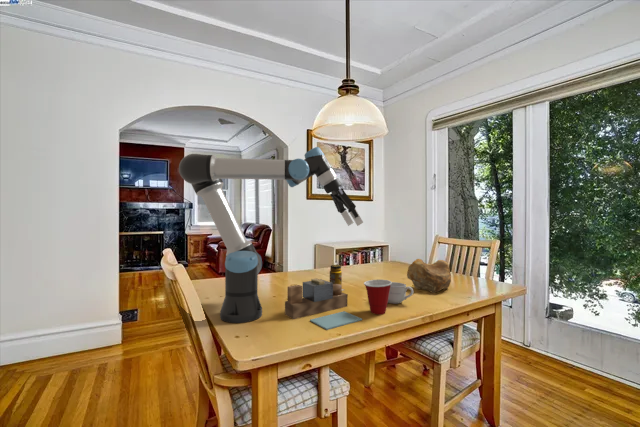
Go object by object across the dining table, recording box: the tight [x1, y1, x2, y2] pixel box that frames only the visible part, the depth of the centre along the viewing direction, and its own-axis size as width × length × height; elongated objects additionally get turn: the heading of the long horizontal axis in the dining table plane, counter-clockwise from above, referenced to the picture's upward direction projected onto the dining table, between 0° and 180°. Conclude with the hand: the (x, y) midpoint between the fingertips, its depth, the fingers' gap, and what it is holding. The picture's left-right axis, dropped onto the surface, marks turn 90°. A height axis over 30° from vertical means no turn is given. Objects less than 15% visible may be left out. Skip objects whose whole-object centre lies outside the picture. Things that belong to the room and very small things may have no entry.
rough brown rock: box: [406, 258, 452, 294], centre depth 155 cm, size 23×17×15 cm
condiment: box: [329, 264, 345, 292], centre depth 154 cm, size 7×8×12 cm
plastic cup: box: [363, 279, 393, 315], centre depth 120 cm, size 11×11×12 cm
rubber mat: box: [309, 311, 363, 331], centre depth 111 cm, size 16×10×1 cm, turn 126°
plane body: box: [284, 284, 349, 320], centre depth 122 cm, size 26×6×11 cm, turn 126°
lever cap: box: [302, 277, 333, 302], centre depth 122 cm, size 9×8×7 cm
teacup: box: [387, 281, 414, 304], centre depth 133 cm, size 14×11×8 cm
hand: (355, 224), depth 132 cm, fingers open, 13 cm apart
